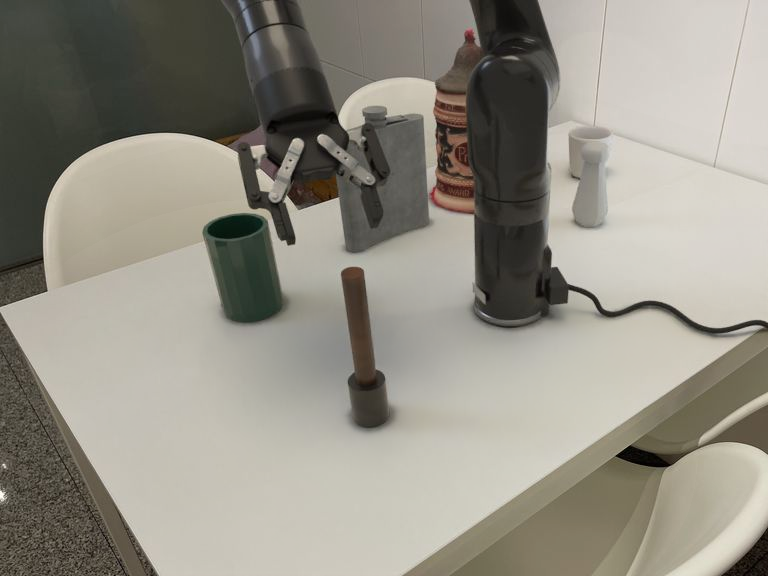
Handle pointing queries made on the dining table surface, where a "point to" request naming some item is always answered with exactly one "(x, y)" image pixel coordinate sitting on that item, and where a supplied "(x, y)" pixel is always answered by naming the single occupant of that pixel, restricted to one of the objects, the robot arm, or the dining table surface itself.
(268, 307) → the green cylindrical holder
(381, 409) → the bottle brush
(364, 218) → the hip flask
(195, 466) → the dining table surface
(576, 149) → the cup
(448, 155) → the beer stein
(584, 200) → the salt shaker
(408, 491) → the dining table surface
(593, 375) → the dining table surface
